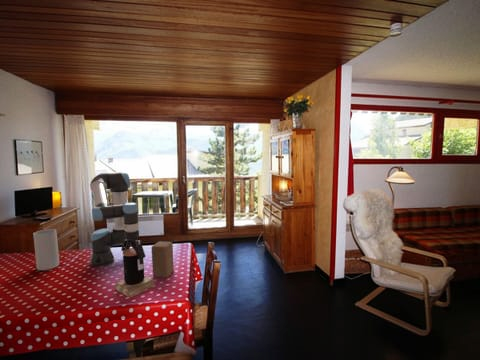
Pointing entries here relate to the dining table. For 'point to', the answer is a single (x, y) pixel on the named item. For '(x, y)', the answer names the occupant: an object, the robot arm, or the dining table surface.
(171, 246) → the wooden block
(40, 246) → the cylinder vase
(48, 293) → the dining table surface
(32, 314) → the dining table surface
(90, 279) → the dining table surface
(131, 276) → the coffee jar
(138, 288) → the plinth
